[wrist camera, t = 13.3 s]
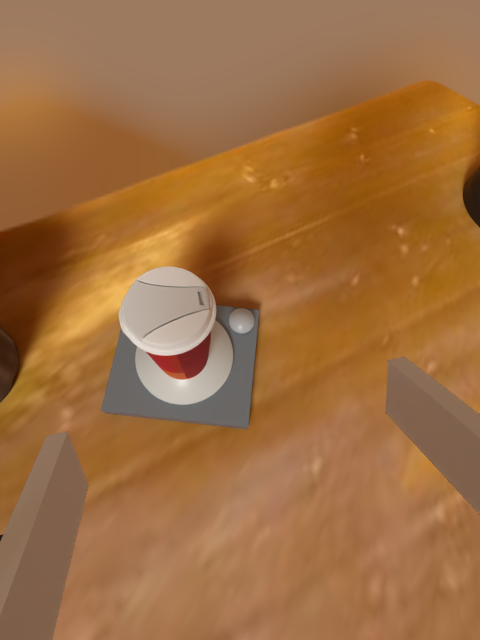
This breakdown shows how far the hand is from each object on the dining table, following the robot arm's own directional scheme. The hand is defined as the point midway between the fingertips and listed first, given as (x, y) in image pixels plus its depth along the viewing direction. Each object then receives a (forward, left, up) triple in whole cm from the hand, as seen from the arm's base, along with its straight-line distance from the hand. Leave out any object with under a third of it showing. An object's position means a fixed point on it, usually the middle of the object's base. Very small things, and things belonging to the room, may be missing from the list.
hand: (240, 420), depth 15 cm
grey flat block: (+6, -10, -28) cm, 30 cm away
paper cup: (+6, -10, -25) cm, 28 cm away
